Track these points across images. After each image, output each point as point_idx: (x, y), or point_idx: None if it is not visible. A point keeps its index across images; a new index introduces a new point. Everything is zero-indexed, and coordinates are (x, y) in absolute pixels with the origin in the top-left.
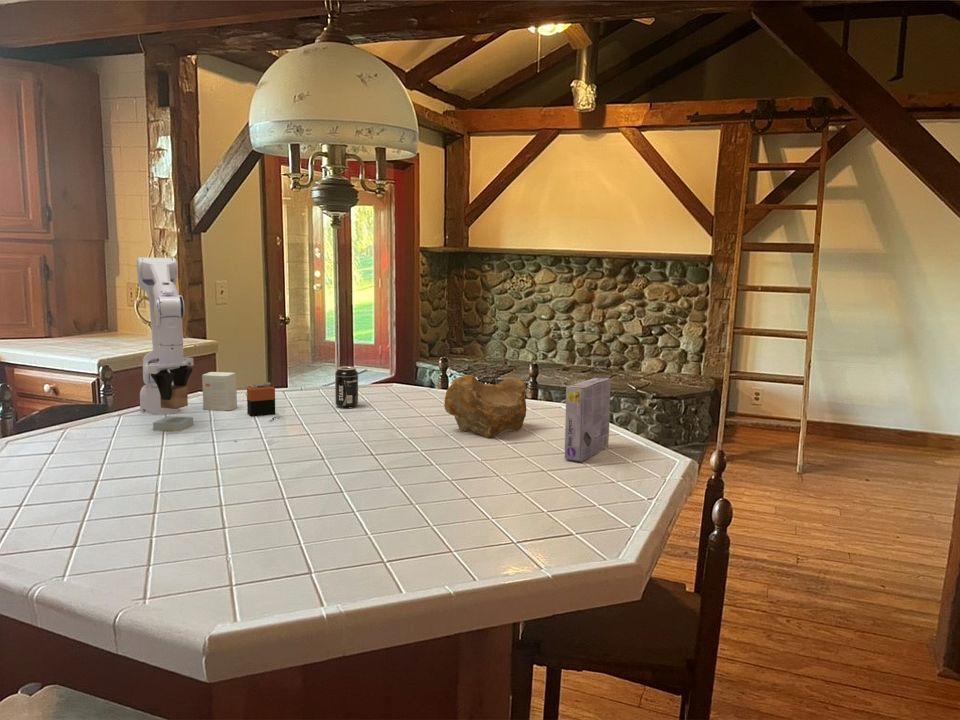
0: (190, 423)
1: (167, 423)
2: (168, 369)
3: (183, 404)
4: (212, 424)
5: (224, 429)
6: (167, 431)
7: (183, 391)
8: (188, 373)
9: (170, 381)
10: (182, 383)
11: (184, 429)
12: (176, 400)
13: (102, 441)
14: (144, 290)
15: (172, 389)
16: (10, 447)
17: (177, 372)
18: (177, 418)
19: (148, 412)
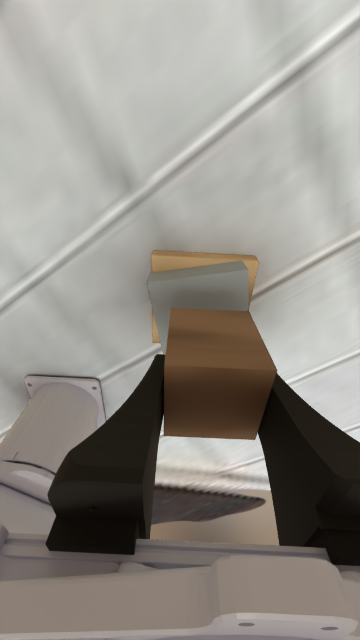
0: (170, 273)
1: (248, 310)
2: (290, 553)
3: (200, 314)
4: (69, 251)
5: (105, 163)
6: (251, 295)
7: (202, 350)
8: (121, 443)
9: (320, 431)
10: (158, 403)
11: (216, 263)
12: (255, 331)
13: (307, 389)
14: None
15: (270, 386)
16: None
17: (150, 497)
18: None
19: (94, 429)
